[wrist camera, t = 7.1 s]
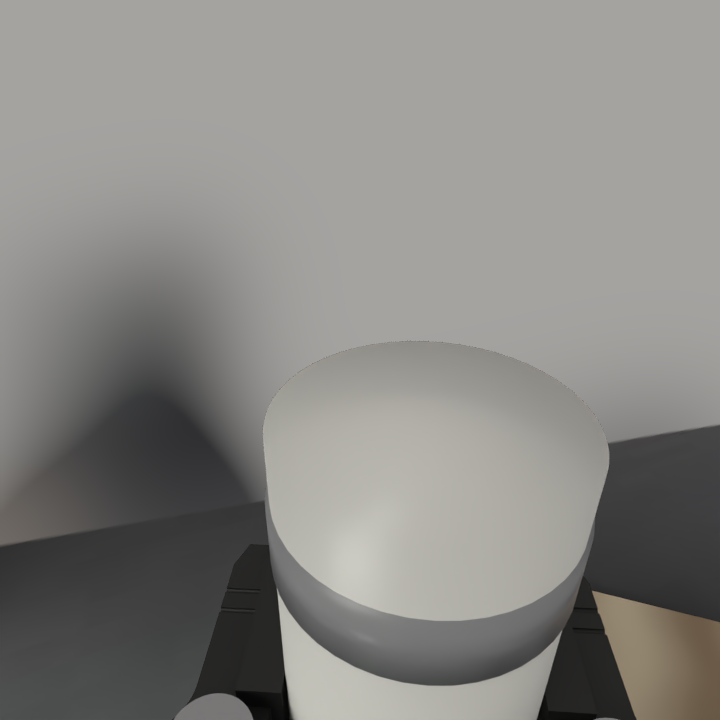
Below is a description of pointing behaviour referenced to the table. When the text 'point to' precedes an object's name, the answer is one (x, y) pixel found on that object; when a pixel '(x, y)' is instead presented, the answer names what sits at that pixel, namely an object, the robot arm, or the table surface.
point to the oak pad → (664, 659)
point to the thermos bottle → (427, 530)
